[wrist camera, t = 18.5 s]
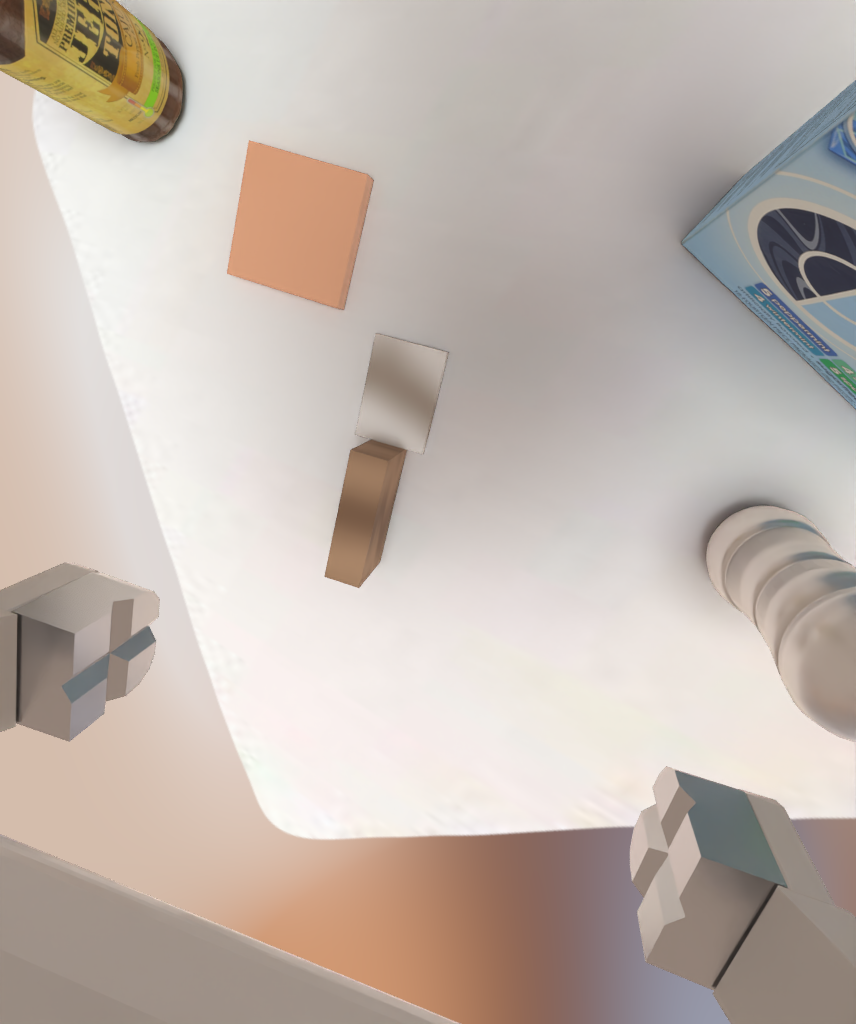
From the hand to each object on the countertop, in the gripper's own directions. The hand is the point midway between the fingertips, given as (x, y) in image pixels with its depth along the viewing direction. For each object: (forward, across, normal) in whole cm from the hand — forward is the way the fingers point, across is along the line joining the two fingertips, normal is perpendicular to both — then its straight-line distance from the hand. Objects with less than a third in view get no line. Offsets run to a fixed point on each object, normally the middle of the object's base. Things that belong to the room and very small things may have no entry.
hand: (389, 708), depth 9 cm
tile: (+31, +17, -9) cm, 36 cm away
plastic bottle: (+31, -17, +3) cm, 36 cm away
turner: (+31, +8, +3) cm, 32 cm away
